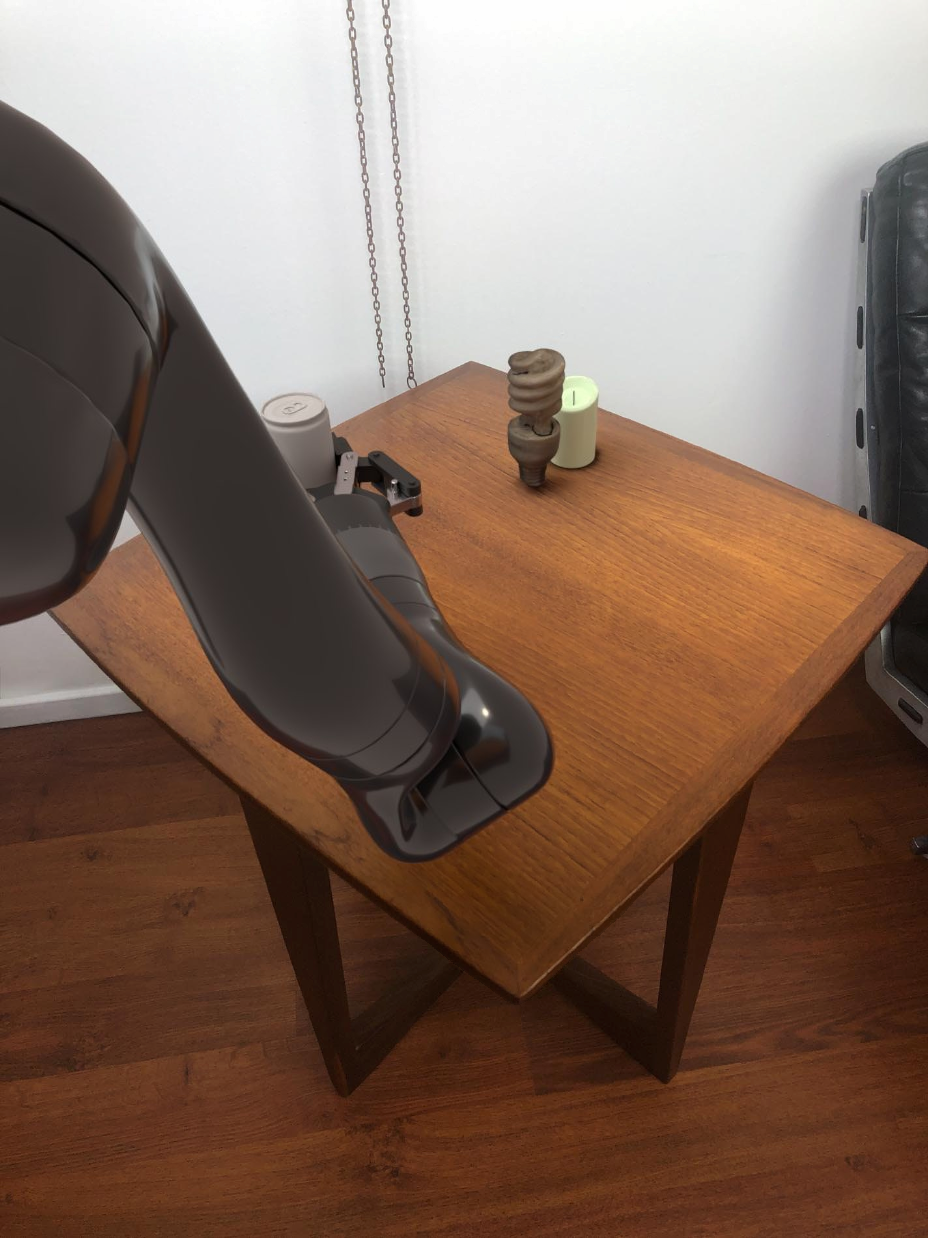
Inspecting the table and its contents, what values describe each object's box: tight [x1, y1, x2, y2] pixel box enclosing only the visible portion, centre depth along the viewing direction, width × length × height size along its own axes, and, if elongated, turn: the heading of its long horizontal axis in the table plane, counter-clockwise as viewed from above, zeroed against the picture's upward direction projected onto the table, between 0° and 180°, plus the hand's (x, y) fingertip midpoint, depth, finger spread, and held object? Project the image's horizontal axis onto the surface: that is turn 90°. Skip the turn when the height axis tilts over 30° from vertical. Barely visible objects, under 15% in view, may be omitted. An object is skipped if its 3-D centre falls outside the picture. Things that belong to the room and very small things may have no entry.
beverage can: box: [260, 391, 337, 489], centre depth 71 cm, size 5×5×12 cm
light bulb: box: [506, 347, 566, 488], centre depth 94 cm, size 6×6×15 cm
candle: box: [550, 375, 600, 469], centre depth 100 cm, size 5×5×8 cm
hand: (294, 451), depth 72 cm, fingers closed on beverage can, 5 cm apart
